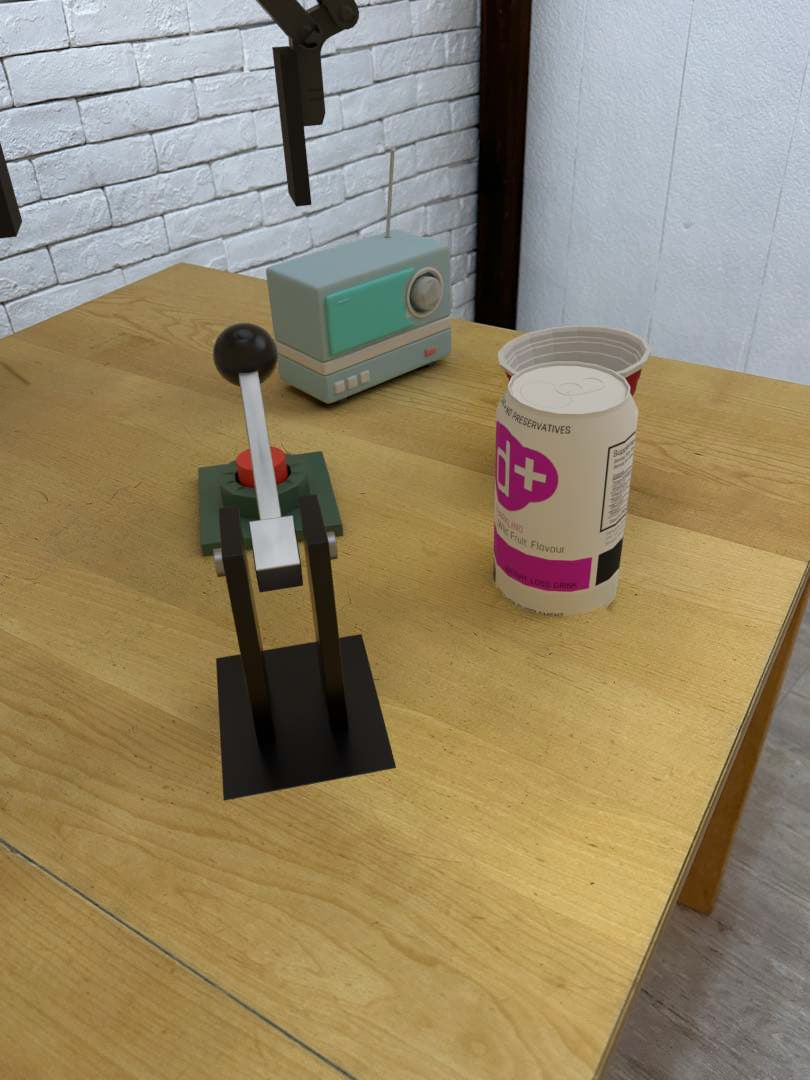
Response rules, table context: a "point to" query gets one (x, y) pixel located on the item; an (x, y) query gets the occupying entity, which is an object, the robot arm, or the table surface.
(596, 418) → the supplement can
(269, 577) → the lever
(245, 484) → the button
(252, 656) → the bracket
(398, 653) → the table surface
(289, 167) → the robot arm
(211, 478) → the button box
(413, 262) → the radio
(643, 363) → the plastic cup
